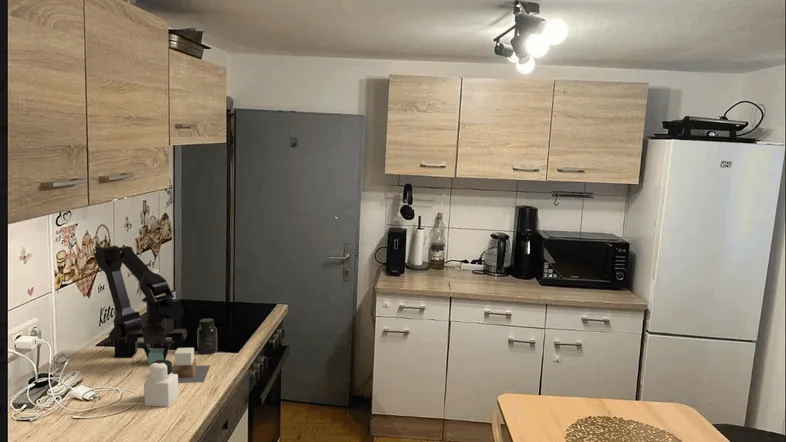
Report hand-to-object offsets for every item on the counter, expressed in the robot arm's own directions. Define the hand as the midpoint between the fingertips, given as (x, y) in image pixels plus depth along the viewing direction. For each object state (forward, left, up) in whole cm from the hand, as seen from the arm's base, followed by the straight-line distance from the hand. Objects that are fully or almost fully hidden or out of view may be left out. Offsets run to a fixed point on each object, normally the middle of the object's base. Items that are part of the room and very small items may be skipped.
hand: (157, 360), depth 197 cm
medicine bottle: (+8, -30, -2) cm, 31 cm away
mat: (+11, -11, -1) cm, 16 cm away
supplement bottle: (+15, +10, -2) cm, 18 cm away
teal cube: (0, 0, -1) cm, 1 cm away
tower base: (+11, -11, -1) cm, 16 cm away
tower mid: (+11, -11, +3) cm, 16 cm away
